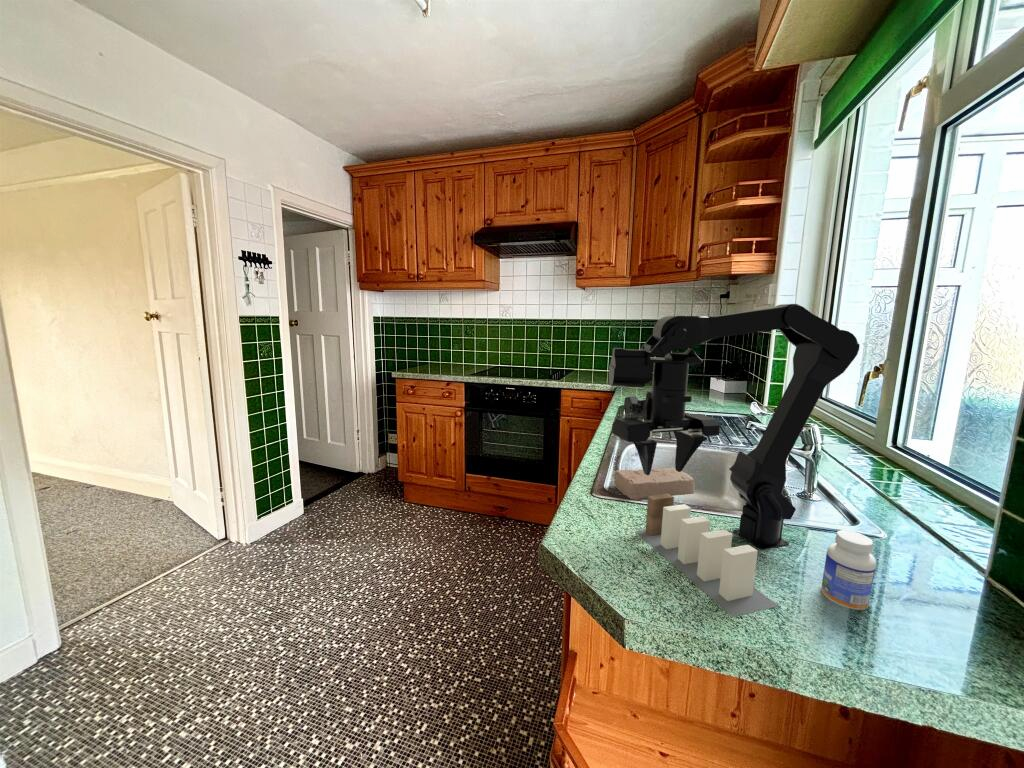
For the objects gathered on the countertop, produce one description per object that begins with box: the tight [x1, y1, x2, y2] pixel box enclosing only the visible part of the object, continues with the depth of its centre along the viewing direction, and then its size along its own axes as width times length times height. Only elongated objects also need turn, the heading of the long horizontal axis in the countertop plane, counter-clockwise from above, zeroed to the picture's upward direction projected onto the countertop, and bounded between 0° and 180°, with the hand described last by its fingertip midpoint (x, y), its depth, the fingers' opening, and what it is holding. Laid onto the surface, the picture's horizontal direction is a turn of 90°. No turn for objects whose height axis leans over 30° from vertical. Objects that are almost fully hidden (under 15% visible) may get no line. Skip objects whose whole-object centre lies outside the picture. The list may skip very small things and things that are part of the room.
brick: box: [614, 467, 695, 501], centre depth 95 cm, size 17×8×5 cm, turn 103°
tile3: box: [678, 515, 711, 564], centre depth 67 cm, size 4×2×7 cm, turn 106°
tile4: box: [697, 529, 733, 581], centre depth 62 cm, size 4×2×7 cm, turn 106°
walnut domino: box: [645, 494, 675, 536], centre depth 75 cm, size 4×2×7 cm, turn 107°
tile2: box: [661, 503, 692, 549], centre depth 71 cm, size 4×2×7 cm, turn 106°
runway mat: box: [634, 528, 780, 618], centre depth 66 cm, size 8×23×1 cm, turn 16°
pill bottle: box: [820, 529, 877, 611], centre depth 58 cm, size 5×5×10 cm
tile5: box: [719, 544, 758, 601], centre depth 58 cm, size 4×2×7 cm, turn 106°
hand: (662, 472), depth 74 cm, fingers open, 6 cm apart
